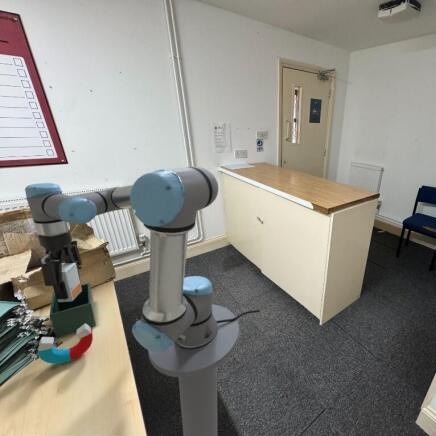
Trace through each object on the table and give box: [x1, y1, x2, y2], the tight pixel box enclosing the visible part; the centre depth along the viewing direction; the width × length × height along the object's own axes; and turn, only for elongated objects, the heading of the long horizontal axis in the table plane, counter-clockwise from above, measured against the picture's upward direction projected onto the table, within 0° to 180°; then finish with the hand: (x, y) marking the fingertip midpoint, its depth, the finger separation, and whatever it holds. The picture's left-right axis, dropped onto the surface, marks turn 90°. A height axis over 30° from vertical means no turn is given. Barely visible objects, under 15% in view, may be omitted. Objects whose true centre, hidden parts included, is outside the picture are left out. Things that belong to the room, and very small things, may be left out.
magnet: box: [37, 323, 94, 365], centre depth 71 cm, size 12×3×10 cm, turn 129°
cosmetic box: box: [58, 262, 82, 302], centre depth 81 cm, size 6×4×12 cm
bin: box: [48, 282, 97, 339], centre depth 84 cm, size 14×10×10 cm
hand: (69, 292), depth 82 cm, fingers closed on cosmetic box, 6 cm apart
